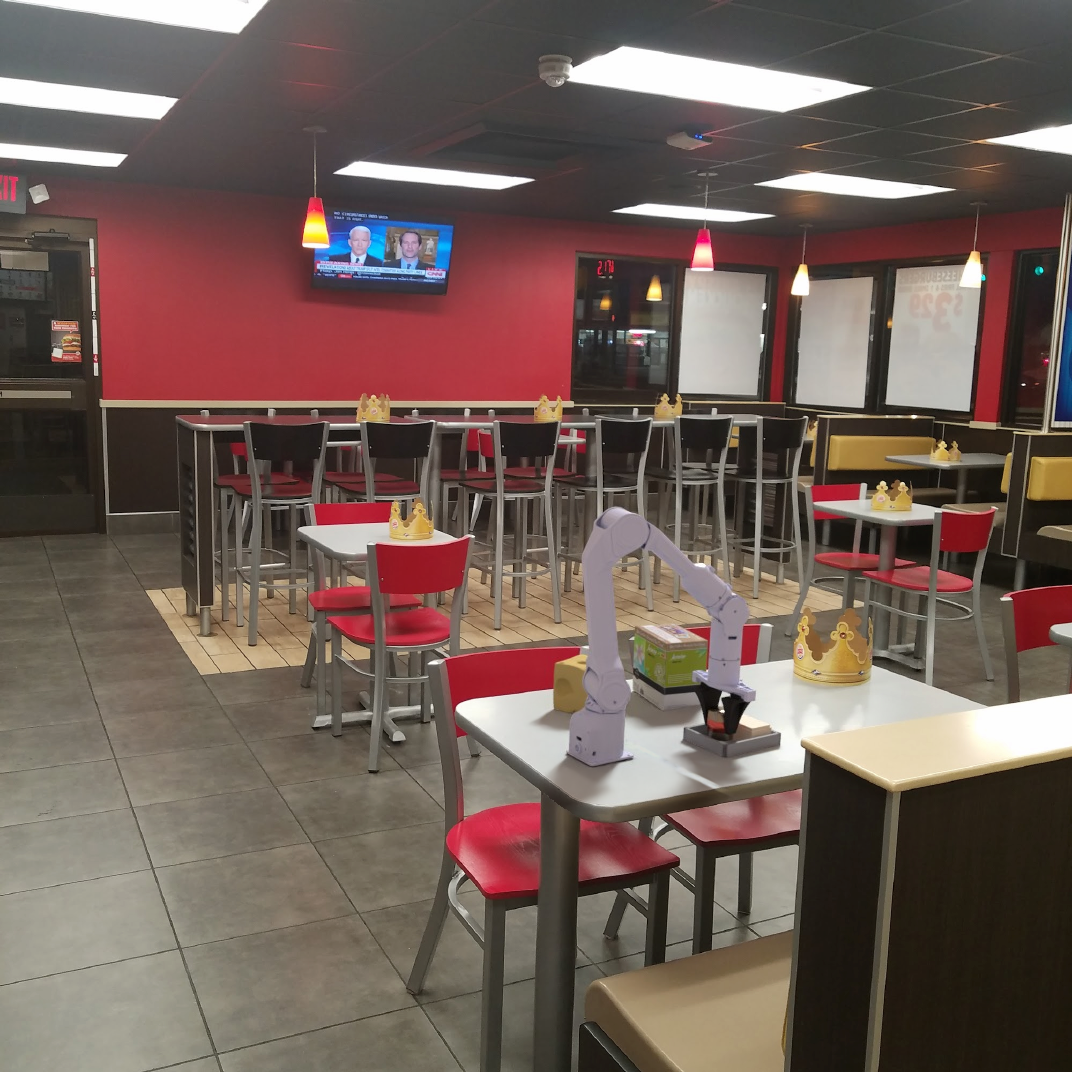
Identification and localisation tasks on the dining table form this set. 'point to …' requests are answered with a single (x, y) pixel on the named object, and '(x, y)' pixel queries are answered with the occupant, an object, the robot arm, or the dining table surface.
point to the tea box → (667, 665)
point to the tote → (732, 747)
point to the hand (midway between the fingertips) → (720, 729)
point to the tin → (717, 724)
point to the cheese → (569, 684)
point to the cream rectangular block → (751, 728)
